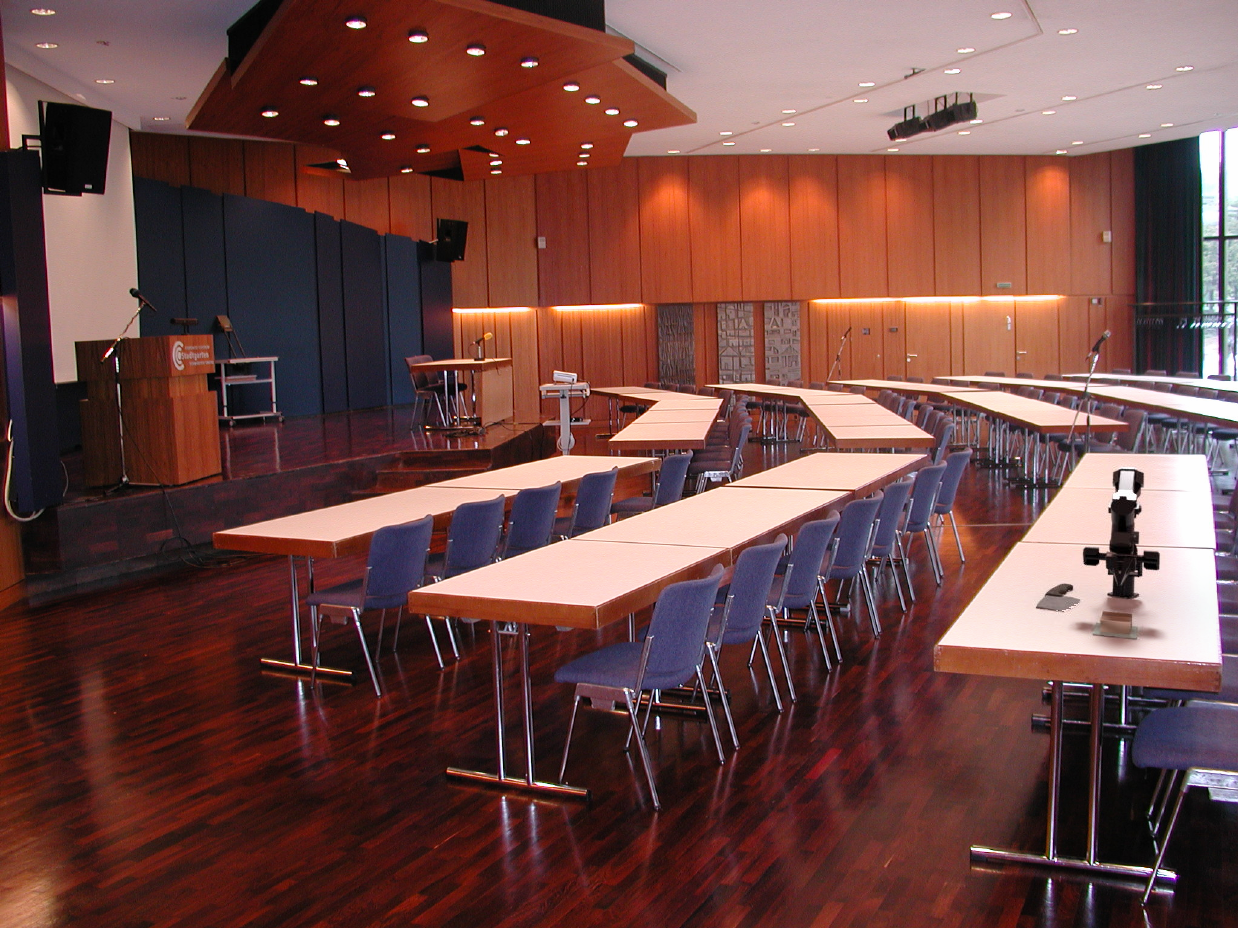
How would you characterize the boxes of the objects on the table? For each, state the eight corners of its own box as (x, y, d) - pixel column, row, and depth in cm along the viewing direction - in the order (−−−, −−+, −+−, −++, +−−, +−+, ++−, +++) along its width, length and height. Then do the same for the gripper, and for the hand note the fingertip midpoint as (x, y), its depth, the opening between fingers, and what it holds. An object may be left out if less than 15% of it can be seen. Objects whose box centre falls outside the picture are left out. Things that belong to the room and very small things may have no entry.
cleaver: (1054, 588, 317) (1054, 581, 317) (1089, 591, 311) (1089, 584, 311) (1033, 611, 292) (1034, 603, 292) (1071, 615, 287) (1071, 607, 287)
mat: (1096, 623, 276) (1096, 622, 276) (1138, 627, 271) (1138, 626, 271) (1092, 634, 265) (1092, 633, 265) (1136, 639, 261) (1136, 638, 260)
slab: (1102, 610, 276) (1100, 620, 267) (1132, 613, 272) (1130, 622, 264) (1102, 621, 276) (1100, 631, 267) (1131, 624, 273) (1130, 634, 264)
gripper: (1084, 517, 285) (1079, 565, 277) (1160, 521, 276) (1158, 571, 268) (1085, 540, 293) (1081, 587, 285) (1160, 544, 284) (1158, 593, 276)
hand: (1119, 584), depth 278 cm, fingers closed
